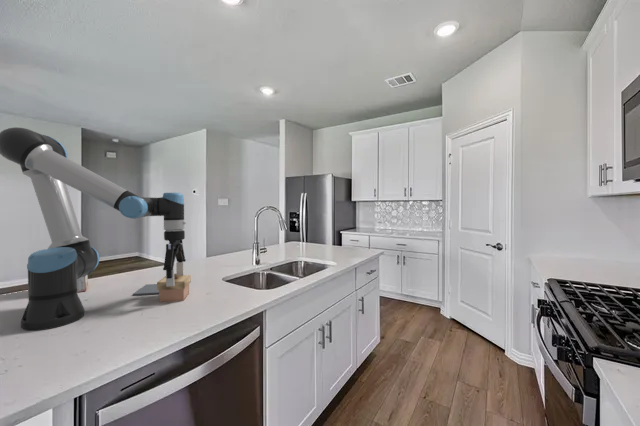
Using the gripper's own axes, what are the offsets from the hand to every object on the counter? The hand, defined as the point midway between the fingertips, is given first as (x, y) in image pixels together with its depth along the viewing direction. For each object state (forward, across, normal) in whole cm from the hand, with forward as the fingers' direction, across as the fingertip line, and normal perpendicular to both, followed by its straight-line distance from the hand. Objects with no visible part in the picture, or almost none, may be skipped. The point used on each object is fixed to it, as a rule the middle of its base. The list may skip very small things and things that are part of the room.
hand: (175, 281), depth 116 cm
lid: (+2, 0, 0) cm, 2 cm away
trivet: (+7, +13, +11) cm, 19 cm away
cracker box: (+6, +21, +46) cm, 51 cm away
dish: (+7, 0, 0) cm, 7 cm away
